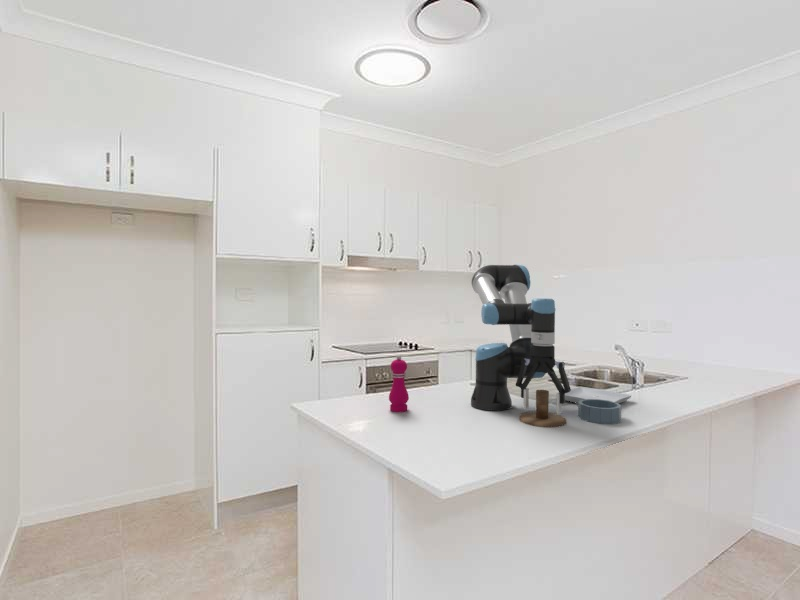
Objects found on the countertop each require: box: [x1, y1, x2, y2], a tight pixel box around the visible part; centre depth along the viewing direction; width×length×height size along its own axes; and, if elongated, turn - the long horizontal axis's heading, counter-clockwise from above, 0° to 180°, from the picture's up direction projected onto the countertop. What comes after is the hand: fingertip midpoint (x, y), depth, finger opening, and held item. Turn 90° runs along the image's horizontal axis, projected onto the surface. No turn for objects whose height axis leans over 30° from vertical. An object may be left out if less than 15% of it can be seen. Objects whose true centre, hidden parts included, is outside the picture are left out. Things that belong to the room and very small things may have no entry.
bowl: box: [577, 399, 622, 425], centre depth 155 cm, size 13×13×5 cm
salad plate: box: [556, 386, 632, 404], centre depth 179 cm, size 21×21×3 cm
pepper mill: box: [388, 354, 410, 413], centre depth 166 cm, size 7×7×20 cm
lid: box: [518, 389, 567, 428], centre depth 152 cm, size 15×15×10 cm
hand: (542, 410), depth 152 cm, fingers open, 10 cm apart
